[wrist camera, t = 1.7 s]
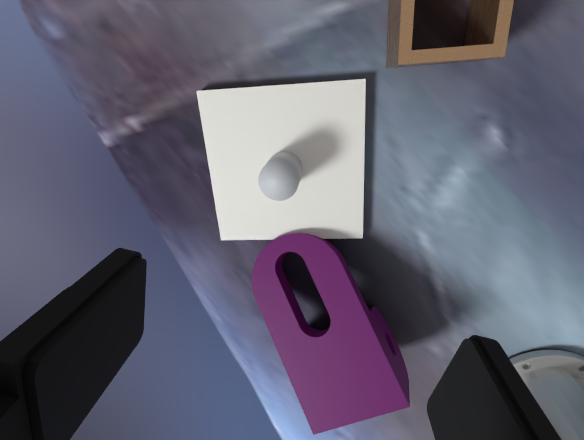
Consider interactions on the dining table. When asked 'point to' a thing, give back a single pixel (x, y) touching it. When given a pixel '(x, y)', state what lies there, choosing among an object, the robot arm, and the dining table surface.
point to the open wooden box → (478, 46)
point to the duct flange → (287, 159)
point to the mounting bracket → (330, 338)
